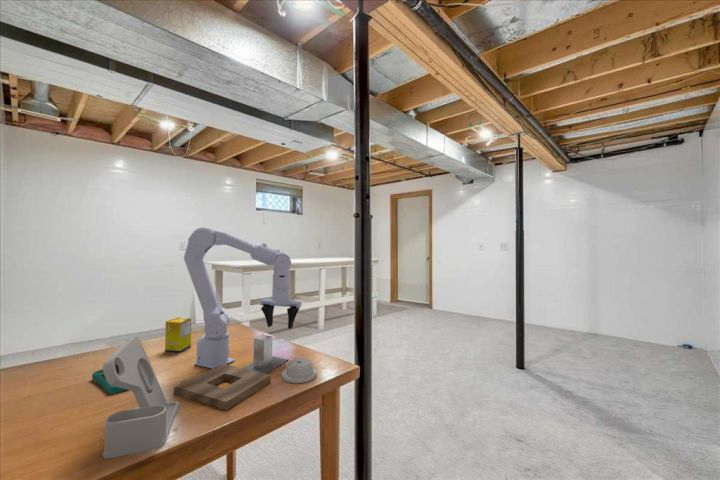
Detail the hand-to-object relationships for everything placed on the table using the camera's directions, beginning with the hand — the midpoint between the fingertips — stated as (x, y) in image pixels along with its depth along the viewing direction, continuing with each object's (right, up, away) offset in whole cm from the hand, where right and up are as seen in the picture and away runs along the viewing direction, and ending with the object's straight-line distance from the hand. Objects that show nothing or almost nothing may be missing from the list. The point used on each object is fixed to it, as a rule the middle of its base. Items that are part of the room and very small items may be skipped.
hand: (280, 327), depth 105 cm
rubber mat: (-3, -10, -7) cm, 13 cm away
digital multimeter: (-40, -10, -20) cm, 46 cm away
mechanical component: (+9, -11, -14) cm, 20 cm away
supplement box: (-38, -10, +5) cm, 40 cm away
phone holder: (-18, -10, -40) cm, 45 cm away
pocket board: (-9, -10, -22) cm, 26 cm away
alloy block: (-4, -10, -8) cm, 13 cm away
